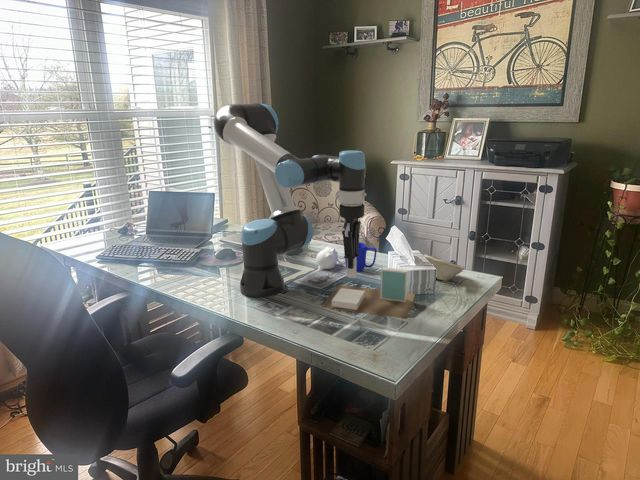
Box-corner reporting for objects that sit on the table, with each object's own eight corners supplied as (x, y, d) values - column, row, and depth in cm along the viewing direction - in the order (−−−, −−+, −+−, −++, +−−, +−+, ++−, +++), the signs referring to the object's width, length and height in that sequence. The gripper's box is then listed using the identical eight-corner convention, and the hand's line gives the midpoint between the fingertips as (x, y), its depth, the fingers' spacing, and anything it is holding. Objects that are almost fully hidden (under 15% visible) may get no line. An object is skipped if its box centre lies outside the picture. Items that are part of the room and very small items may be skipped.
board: (321, 310, 137) (321, 306, 137) (338, 287, 153) (338, 284, 153) (406, 322, 129) (406, 318, 128) (415, 297, 145) (415, 293, 145)
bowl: (472, 282, 156) (474, 255, 153) (443, 291, 149) (445, 263, 146) (440, 269, 169) (442, 244, 166) (412, 277, 162) (413, 250, 159)
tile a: (341, 294, 146) (331, 306, 137) (341, 287, 145) (331, 300, 136) (364, 297, 143) (357, 310, 134) (365, 290, 142) (357, 303, 133)
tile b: (380, 299, 141) (381, 269, 138) (381, 296, 143) (382, 267, 140) (405, 302, 139) (407, 272, 136) (406, 299, 141) (408, 269, 138)
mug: (375, 275, 164) (375, 249, 161) (342, 273, 166) (342, 248, 163) (377, 267, 171) (377, 242, 168) (345, 266, 174) (345, 241, 171)
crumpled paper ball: (327, 239, 176) (321, 247, 164) (350, 254, 175) (345, 264, 164) (316, 256, 179) (309, 266, 167) (338, 271, 178) (333, 282, 167)
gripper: (358, 209, 127) (358, 286, 134) (369, 199, 138) (367, 270, 145) (333, 207, 129) (334, 283, 136) (345, 198, 141) (345, 268, 148)
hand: (351, 276), depth 141 cm, fingers closed
